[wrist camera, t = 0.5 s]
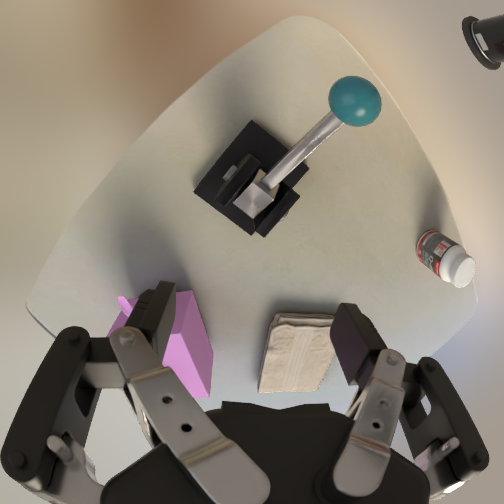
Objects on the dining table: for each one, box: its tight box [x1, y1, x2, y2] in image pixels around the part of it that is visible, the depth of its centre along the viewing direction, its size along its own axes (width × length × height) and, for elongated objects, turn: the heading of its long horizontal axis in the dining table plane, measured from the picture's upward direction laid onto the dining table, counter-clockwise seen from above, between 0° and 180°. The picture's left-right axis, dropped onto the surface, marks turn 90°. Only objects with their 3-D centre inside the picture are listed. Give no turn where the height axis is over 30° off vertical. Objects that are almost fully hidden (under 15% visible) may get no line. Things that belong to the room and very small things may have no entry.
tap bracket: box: [193, 120, 309, 237], centre depth 26 cm, size 11×9×13 cm
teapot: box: [106, 290, 213, 398], centre depth 34 cm, size 20×10×12 cm, turn 10°
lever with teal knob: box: [233, 76, 381, 219], centre depth 18 cm, size 14×4×4 cm, turn 141°
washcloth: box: [257, 313, 335, 393], centre depth 42 cm, size 12×18×3 cm, turn 174°
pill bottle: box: [416, 230, 476, 288], centre depth 32 cm, size 6×6×10 cm
